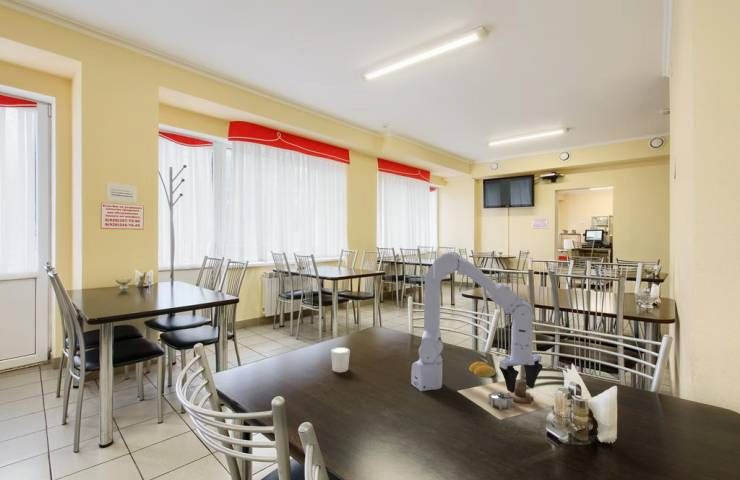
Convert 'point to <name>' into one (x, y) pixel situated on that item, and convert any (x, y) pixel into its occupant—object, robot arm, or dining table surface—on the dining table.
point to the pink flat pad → (524, 404)
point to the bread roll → (482, 369)
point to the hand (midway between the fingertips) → (520, 389)
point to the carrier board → (482, 392)
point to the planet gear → (521, 393)
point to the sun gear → (500, 400)
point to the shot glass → (340, 359)
